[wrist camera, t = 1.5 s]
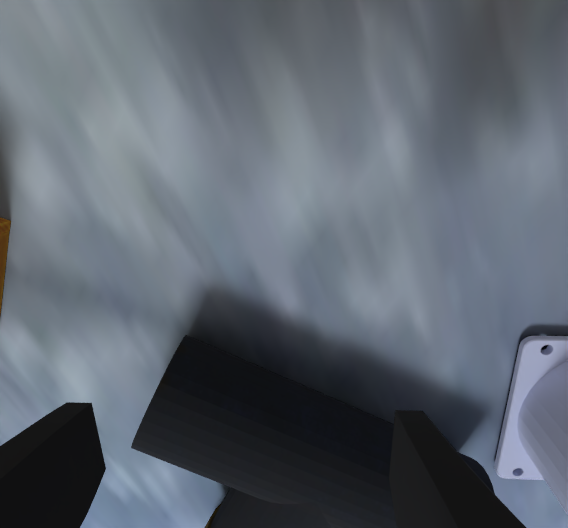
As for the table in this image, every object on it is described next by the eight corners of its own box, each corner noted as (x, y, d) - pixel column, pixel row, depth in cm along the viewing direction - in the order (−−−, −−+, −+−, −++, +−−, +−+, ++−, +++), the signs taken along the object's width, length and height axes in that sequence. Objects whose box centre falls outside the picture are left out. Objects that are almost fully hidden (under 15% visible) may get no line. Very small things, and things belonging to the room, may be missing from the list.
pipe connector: (372, 685, 19) (73, 578, 18) (358, 569, 24) (124, 478, 23) (517, 531, 16) (158, 381, 14) (465, 432, 21) (196, 315, 19)
